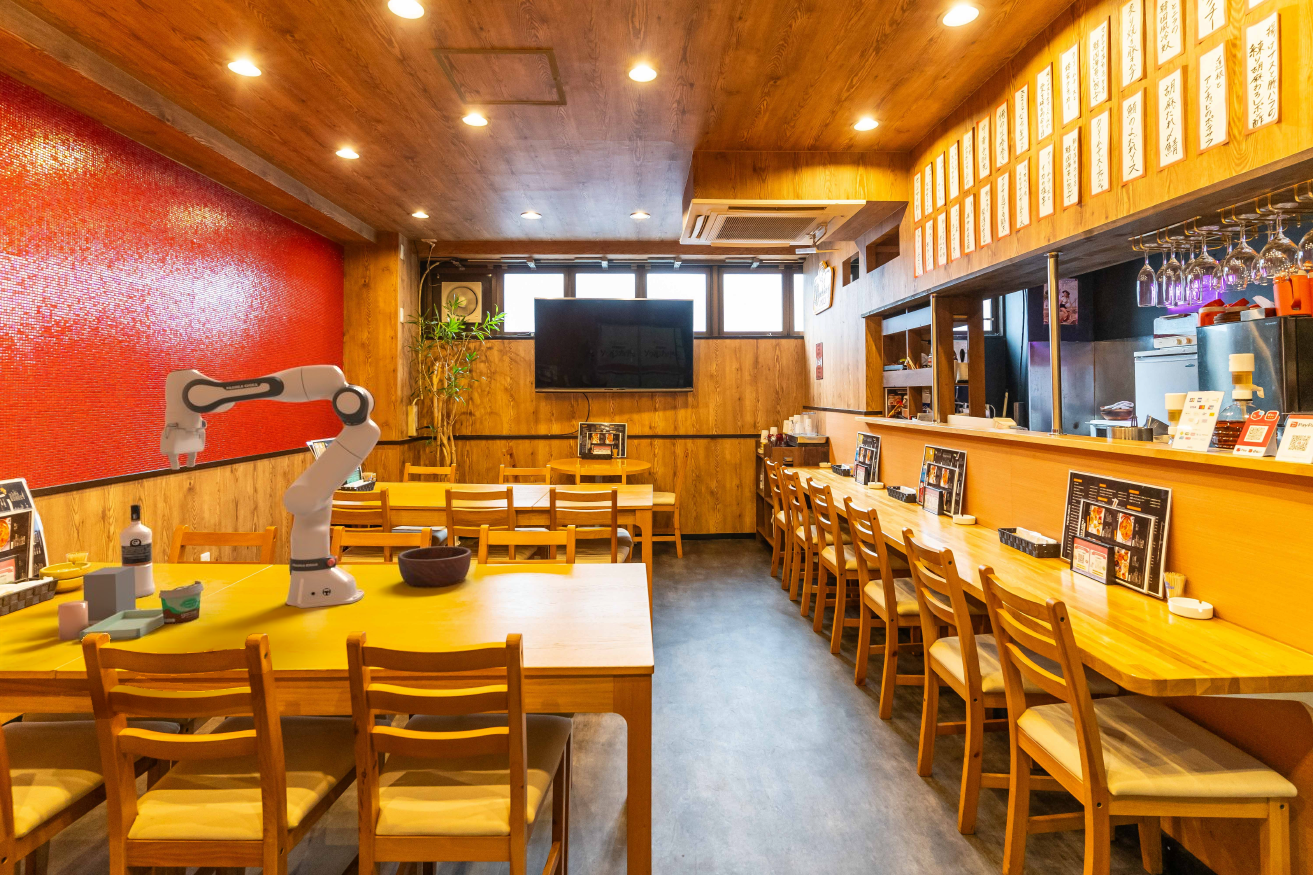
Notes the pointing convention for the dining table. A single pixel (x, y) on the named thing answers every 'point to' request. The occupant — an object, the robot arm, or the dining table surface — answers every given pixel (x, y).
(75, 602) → the canister
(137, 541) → the vodka
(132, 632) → the tray
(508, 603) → the dining table surface
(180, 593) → the food container
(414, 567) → the wooden bowl
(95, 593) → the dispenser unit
